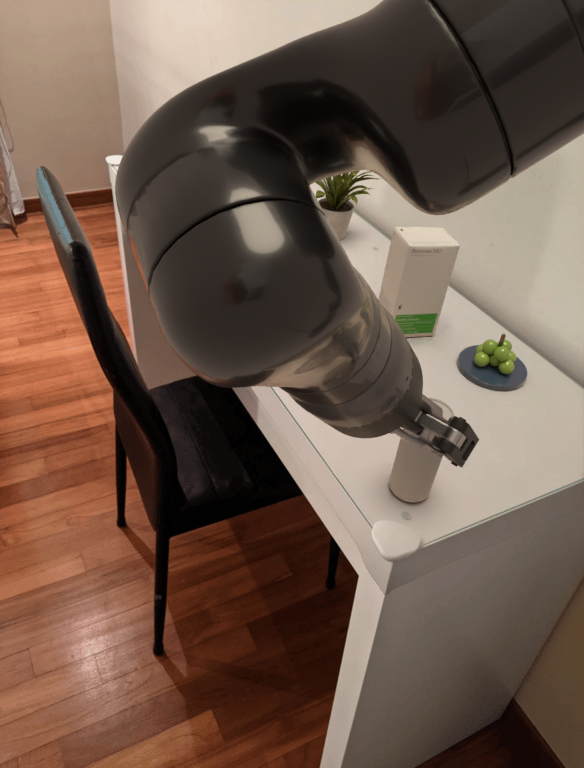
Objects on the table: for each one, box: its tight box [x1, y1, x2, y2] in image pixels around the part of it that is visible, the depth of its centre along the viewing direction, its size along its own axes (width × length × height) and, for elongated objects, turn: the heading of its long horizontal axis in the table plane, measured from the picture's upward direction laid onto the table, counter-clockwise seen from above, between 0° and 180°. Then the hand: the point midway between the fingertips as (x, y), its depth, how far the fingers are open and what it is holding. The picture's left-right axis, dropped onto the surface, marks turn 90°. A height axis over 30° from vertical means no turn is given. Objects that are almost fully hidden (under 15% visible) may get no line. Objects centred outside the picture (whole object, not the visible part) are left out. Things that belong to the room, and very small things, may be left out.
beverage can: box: [388, 397, 455, 503], centre depth 67 cm, size 5×5×12 cm
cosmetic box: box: [377, 225, 461, 338], centre depth 92 cm, size 8×7×16 cm
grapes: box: [456, 333, 528, 392], centre depth 88 cm, size 10×10×6 cm
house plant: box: [314, 170, 379, 241], centre depth 114 cm, size 14×14×16 cm
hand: (401, 419), depth 52 cm, fingers open, 8 cm apart
